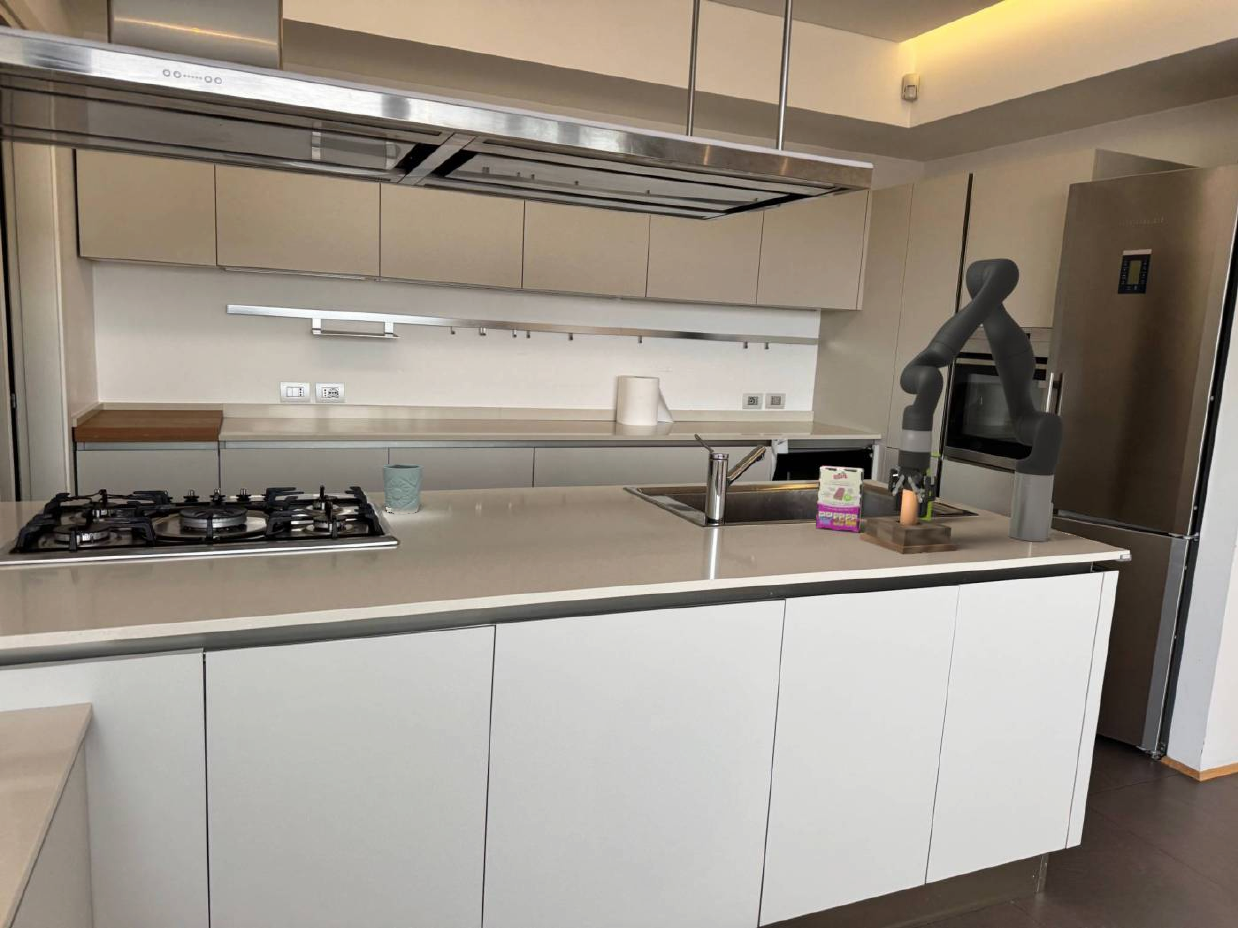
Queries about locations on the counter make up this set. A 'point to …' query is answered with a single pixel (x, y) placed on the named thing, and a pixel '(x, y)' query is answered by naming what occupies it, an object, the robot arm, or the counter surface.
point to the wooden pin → (909, 508)
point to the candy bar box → (839, 498)
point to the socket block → (908, 535)
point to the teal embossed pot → (402, 485)
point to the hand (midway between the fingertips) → (909, 514)
